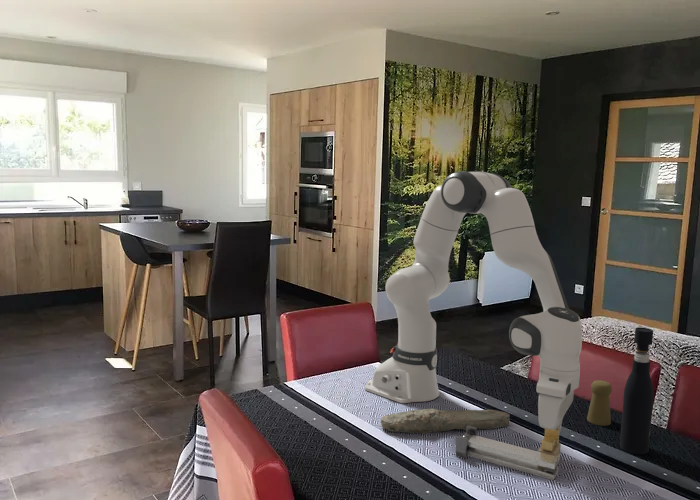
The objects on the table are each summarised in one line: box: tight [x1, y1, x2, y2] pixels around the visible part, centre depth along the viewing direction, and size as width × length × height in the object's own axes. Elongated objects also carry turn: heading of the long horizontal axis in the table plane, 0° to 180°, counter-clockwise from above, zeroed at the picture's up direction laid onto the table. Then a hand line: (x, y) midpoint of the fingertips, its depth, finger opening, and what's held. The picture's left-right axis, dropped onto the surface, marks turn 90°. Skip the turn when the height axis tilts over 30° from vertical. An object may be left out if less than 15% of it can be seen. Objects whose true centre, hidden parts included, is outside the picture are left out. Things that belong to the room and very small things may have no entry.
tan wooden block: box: [537, 442, 562, 459], centre depth 137 cm, size 4×6×4 cm, turn 148°
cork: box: [586, 379, 613, 427], centre depth 159 cm, size 6×6×11 cm
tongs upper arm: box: [461, 431, 560, 473], centre depth 136 cm, size 22×5×2 cm, turn 58°
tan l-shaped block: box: [540, 428, 560, 452], centre depth 136 cm, size 3×5×4 cm, turn 148°
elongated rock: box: [380, 408, 511, 435], centre depth 155 cm, size 35×5×10 cm
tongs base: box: [455, 426, 559, 481], centre depth 136 cm, size 22×7×5 cm, turn 58°
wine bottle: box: [619, 326, 655, 455], centre depth 142 cm, size 6×6×30 cm
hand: (555, 432), depth 141 cm, fingers closed
